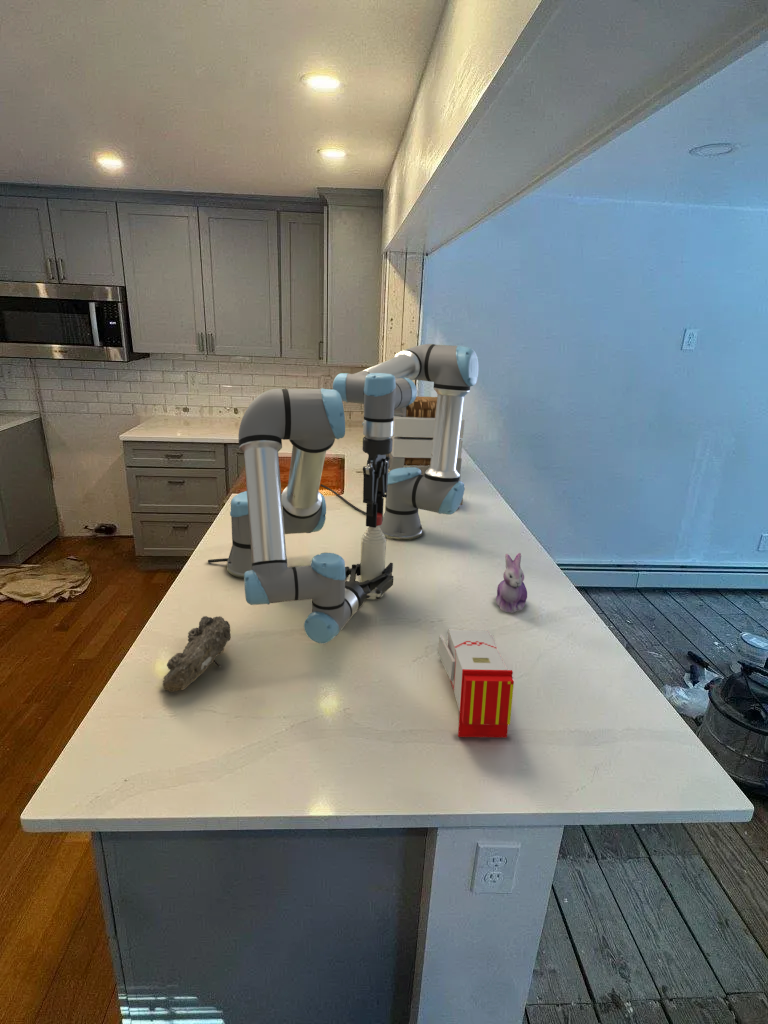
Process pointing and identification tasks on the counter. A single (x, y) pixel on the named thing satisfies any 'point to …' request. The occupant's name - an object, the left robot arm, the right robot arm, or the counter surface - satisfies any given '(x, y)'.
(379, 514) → the cap
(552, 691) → the counter surface
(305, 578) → the left robot arm
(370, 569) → the bottle
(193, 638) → the fossil
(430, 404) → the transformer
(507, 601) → the figurine
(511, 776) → the counter surface
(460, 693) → the toy
